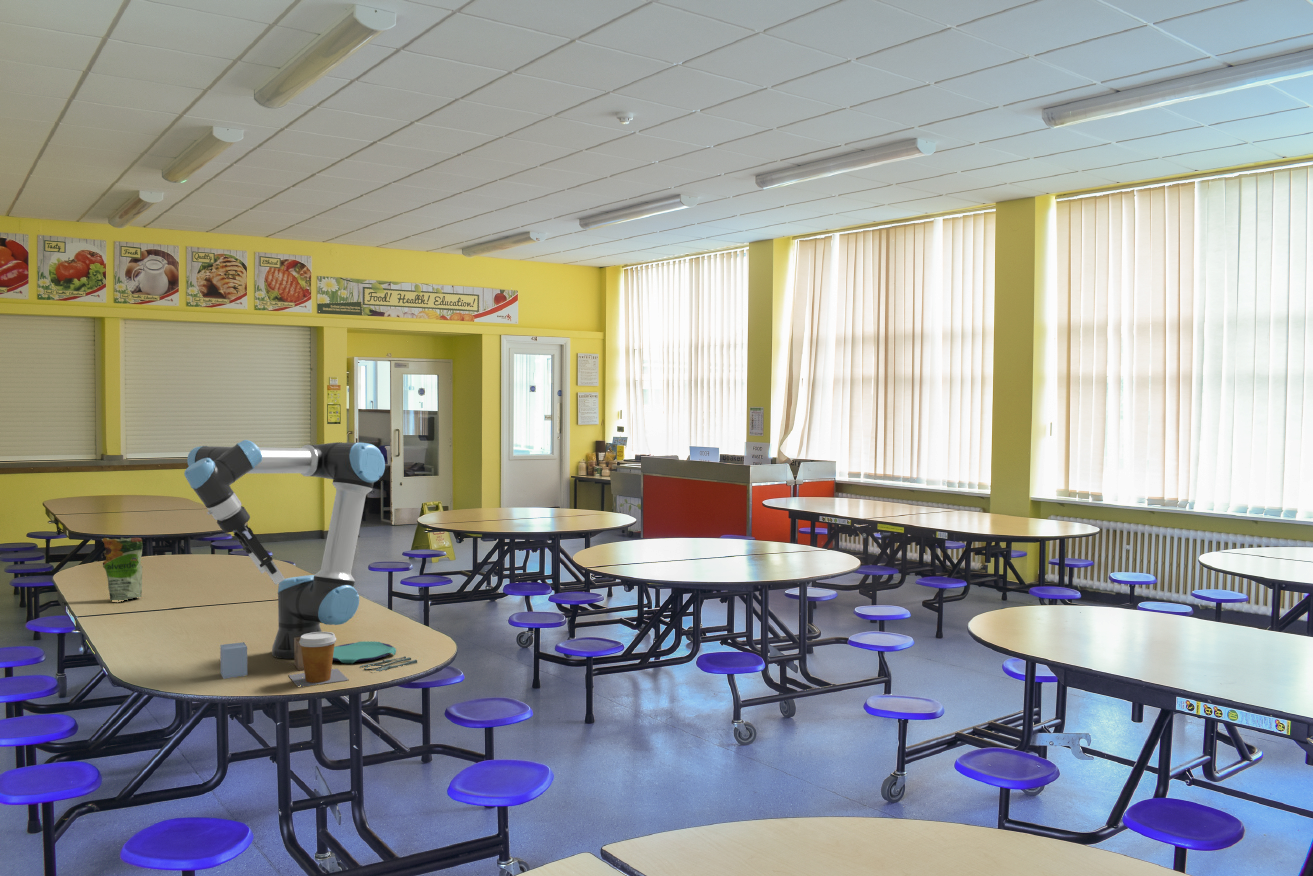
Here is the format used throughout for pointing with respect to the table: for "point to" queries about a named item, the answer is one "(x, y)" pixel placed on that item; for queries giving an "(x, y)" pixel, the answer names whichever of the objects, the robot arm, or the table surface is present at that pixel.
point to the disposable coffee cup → (317, 655)
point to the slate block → (233, 660)
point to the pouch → (123, 567)
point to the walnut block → (298, 654)
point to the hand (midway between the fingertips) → (273, 576)
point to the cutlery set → (368, 654)
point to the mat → (335, 677)
